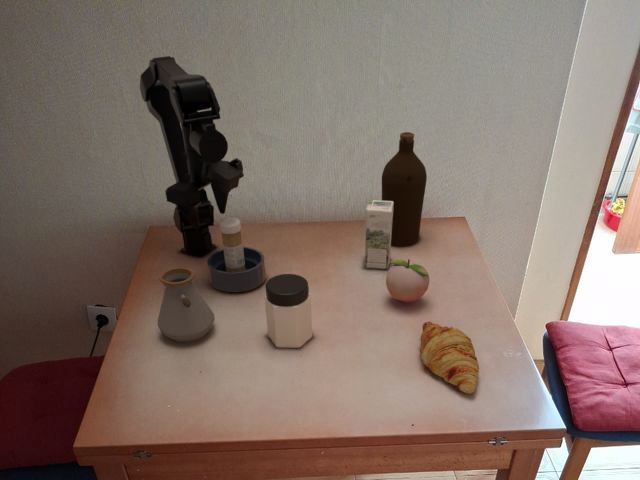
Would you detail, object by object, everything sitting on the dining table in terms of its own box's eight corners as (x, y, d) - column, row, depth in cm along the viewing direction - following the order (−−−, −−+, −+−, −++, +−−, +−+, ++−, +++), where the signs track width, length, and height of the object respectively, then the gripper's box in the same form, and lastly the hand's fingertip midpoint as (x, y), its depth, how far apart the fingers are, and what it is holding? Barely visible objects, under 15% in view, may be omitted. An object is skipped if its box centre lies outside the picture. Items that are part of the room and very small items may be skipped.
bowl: (199, 286, 139) (195, 265, 136) (232, 262, 147) (229, 242, 144) (244, 299, 134) (242, 278, 131) (276, 274, 143) (274, 254, 139)
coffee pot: (156, 322, 128) (141, 256, 118) (210, 312, 131) (200, 247, 121) (171, 381, 113) (154, 312, 103) (231, 369, 116) (221, 299, 106)
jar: (318, 342, 122) (316, 289, 114) (280, 353, 119) (276, 299, 111) (299, 321, 128) (296, 268, 120) (263, 331, 125) (258, 278, 117)
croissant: (482, 409, 111) (509, 375, 106) (440, 399, 106) (466, 363, 102) (435, 344, 125) (456, 311, 121) (396, 332, 120) (417, 298, 116)
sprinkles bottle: (239, 270, 143) (232, 215, 134) (250, 277, 140) (244, 221, 131) (223, 277, 141) (215, 220, 132) (233, 284, 138) (226, 227, 129)
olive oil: (429, 239, 154) (440, 134, 137) (398, 252, 150) (406, 145, 133) (401, 225, 161) (408, 124, 144) (370, 237, 156) (374, 133, 139)
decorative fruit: (377, 307, 131) (379, 264, 124) (391, 289, 136) (394, 247, 130) (419, 316, 128) (424, 273, 121) (431, 298, 133) (436, 255, 127)
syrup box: (390, 259, 147) (394, 199, 137) (388, 270, 143) (391, 210, 133) (367, 257, 148) (368, 198, 138) (364, 269, 144) (365, 209, 134)
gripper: (202, 168, 115) (213, 246, 126) (257, 139, 127) (263, 212, 137) (156, 159, 119) (171, 235, 130) (214, 131, 131) (223, 203, 142)
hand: (210, 221), depth 135 cm, fingers open, 9 cm apart
